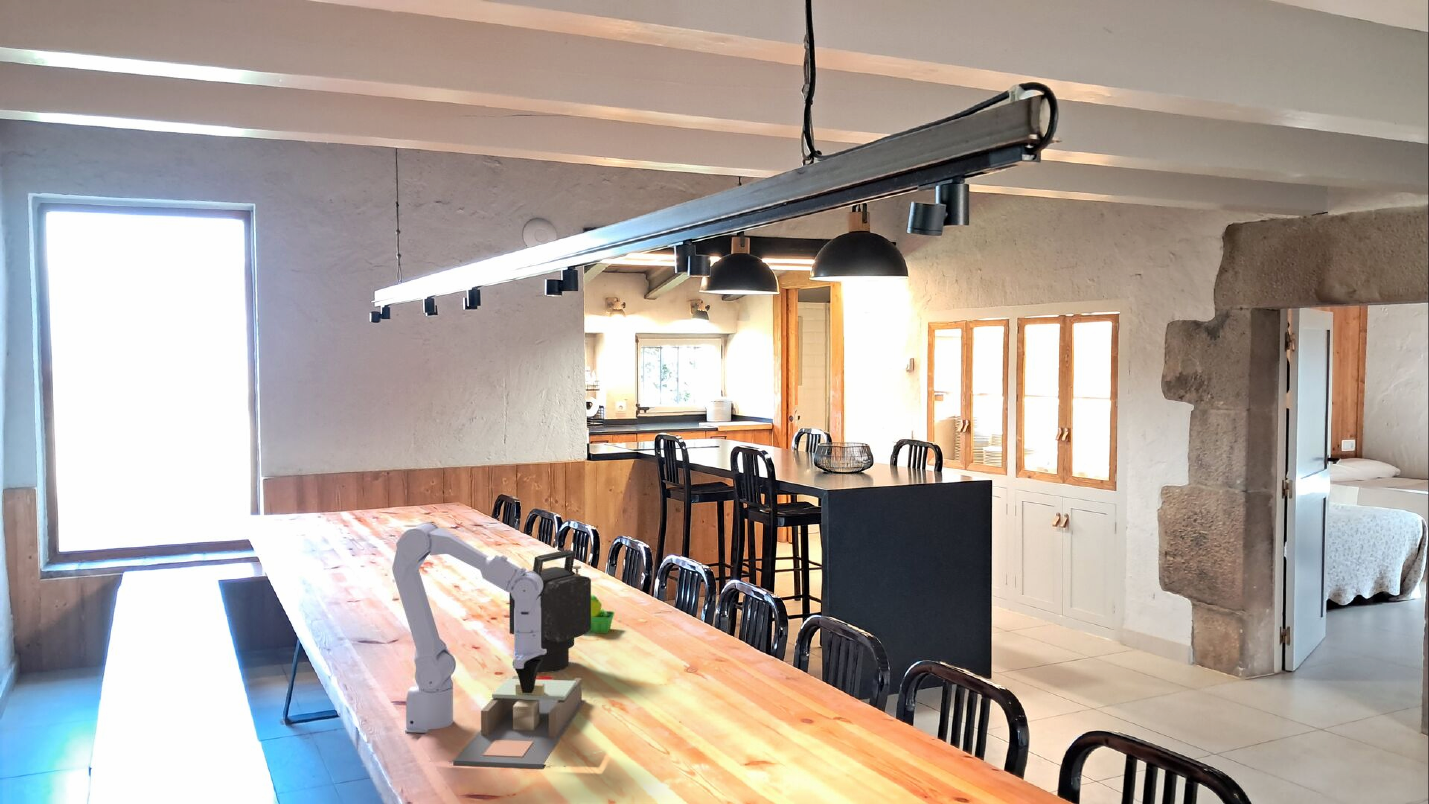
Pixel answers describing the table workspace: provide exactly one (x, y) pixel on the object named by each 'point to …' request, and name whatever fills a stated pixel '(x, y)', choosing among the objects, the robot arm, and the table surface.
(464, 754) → the board
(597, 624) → the fruit basket
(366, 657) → the table surface
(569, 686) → the lid
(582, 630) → the lantern
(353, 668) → the table surface
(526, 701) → the block
